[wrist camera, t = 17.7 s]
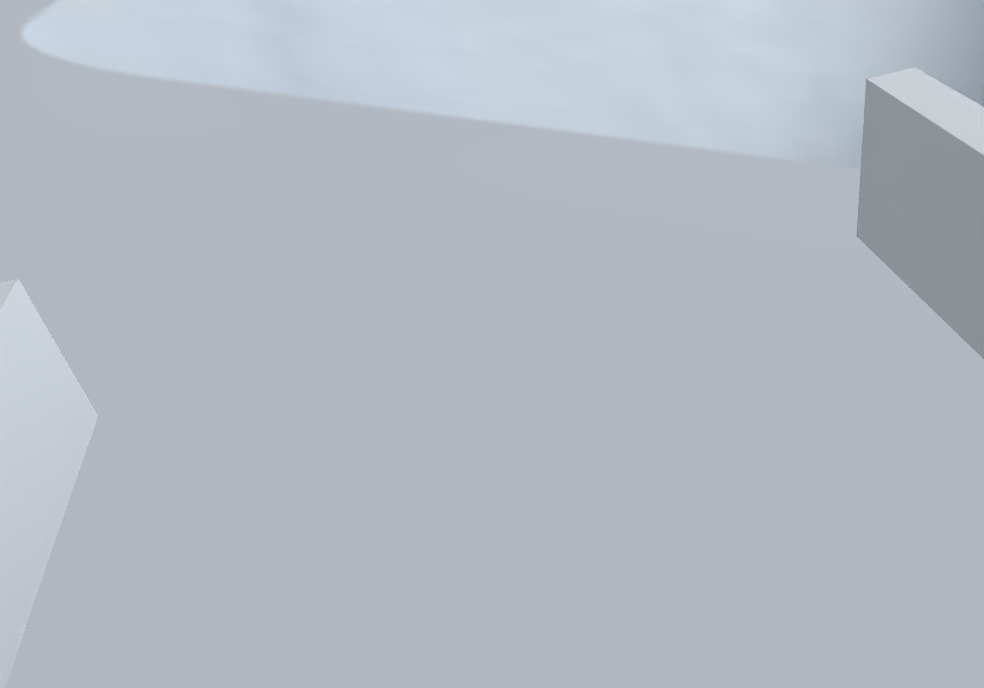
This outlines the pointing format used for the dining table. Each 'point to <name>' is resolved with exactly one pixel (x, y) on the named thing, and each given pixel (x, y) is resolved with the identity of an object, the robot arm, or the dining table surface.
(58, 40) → the dining table surface
